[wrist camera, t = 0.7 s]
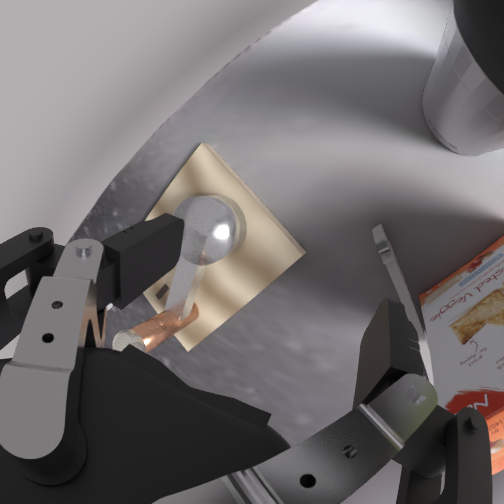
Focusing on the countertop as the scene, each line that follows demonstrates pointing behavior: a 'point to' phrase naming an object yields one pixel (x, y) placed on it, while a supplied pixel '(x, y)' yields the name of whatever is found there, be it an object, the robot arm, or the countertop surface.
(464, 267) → the cracker box
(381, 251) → the caliper
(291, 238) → the stand plate
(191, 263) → the lever
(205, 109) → the countertop surface
